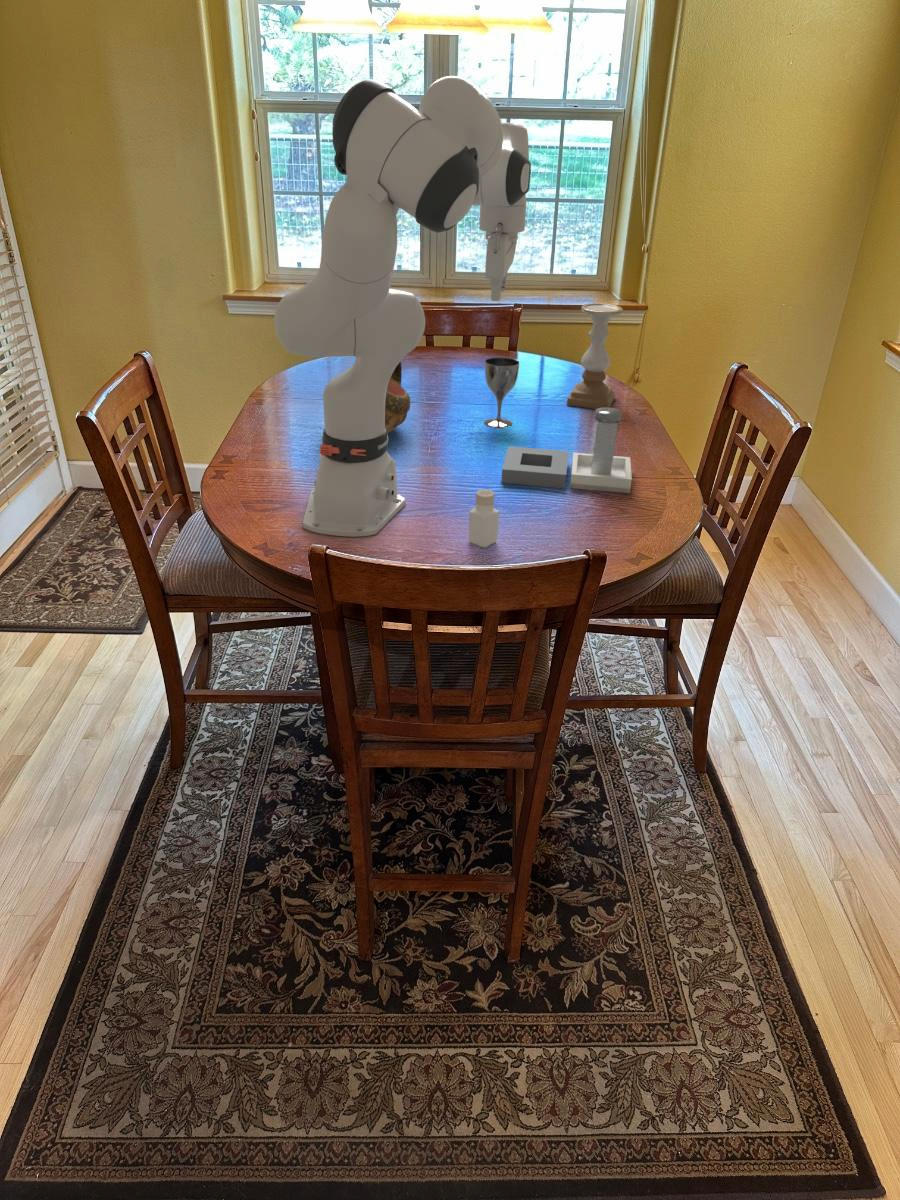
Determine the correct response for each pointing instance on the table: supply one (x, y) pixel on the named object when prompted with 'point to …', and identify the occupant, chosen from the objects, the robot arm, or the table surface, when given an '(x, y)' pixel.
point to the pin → (605, 440)
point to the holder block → (535, 467)
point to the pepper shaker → (483, 520)
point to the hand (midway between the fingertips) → (498, 295)
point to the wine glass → (500, 384)
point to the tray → (613, 483)
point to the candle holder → (595, 361)
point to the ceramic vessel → (396, 401)
